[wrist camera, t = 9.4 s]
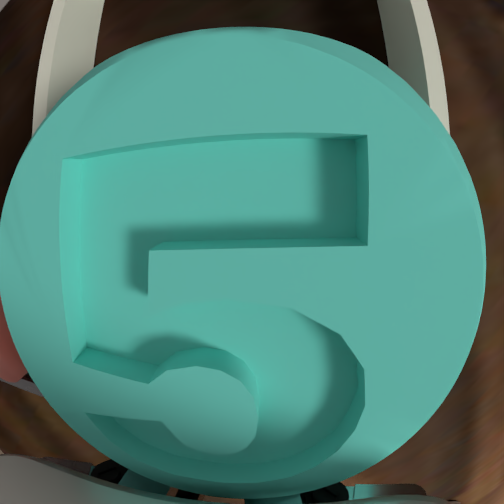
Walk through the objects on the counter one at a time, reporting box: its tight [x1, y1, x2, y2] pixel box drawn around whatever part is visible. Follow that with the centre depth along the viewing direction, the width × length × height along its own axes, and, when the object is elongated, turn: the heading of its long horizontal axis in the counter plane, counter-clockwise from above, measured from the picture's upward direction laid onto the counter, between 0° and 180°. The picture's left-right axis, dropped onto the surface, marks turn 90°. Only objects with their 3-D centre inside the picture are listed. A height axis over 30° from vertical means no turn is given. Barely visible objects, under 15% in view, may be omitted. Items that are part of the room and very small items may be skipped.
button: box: [0, 295, 28, 382], centre depth 10 cm, size 4×4×4 cm
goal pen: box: [32, 0, 450, 136], centre depth 8 cm, size 14×9×3 cm
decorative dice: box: [0, 27, 486, 499], centre depth 8 cm, size 8×8×8 cm
